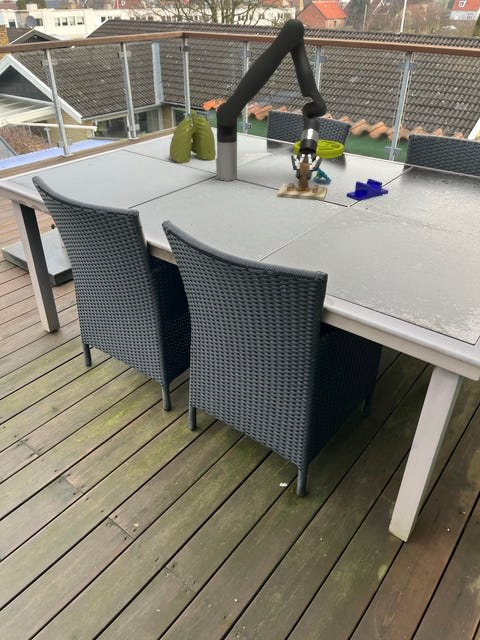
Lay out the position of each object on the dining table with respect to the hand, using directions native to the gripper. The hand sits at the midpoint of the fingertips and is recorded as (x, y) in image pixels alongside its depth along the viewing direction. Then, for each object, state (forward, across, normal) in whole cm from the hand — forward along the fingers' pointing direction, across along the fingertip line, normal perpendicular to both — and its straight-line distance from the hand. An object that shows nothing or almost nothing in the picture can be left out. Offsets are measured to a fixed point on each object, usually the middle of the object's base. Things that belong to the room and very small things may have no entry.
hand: (303, 178), depth 209 cm
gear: (-10, +6, +21) cm, 24 cm away
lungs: (-28, -66, +38) cm, 81 cm away
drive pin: (+1, 0, +4) cm, 5 cm away
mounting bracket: (+1, +28, +11) cm, 29 cm away
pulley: (-49, -2, +61) cm, 78 cm away
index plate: (+4, 0, +6) cm, 7 cm away
